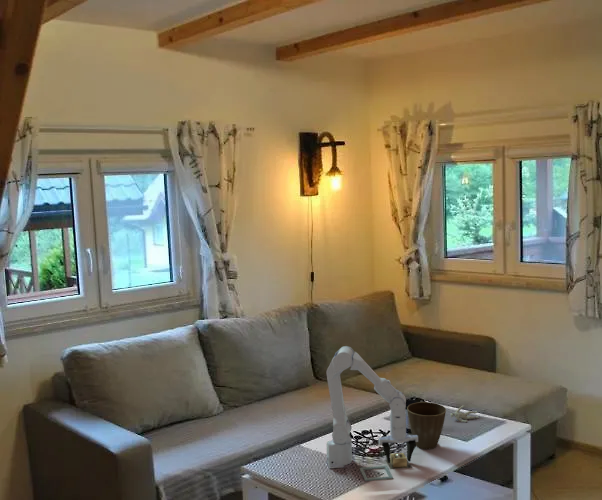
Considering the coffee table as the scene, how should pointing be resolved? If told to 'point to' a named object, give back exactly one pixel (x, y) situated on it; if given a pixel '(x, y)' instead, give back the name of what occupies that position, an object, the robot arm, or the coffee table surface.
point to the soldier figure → (463, 415)
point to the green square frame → (376, 477)
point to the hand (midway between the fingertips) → (398, 461)
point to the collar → (398, 460)
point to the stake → (398, 467)
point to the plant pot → (426, 423)
